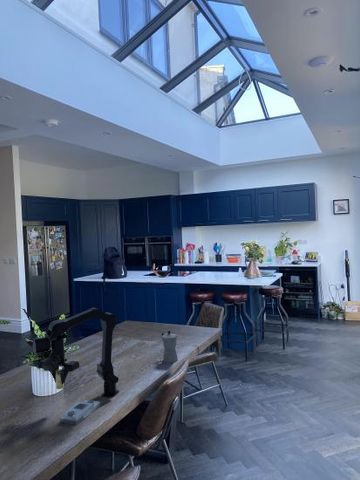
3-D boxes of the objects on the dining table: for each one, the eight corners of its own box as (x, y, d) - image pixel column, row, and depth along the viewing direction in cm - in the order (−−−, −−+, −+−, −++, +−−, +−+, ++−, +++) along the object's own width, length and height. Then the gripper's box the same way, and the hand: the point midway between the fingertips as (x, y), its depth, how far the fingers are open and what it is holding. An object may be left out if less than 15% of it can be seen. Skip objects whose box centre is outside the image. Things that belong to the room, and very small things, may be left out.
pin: (59, 385, 172) (58, 368, 172) (65, 386, 171) (64, 369, 171) (54, 388, 169) (53, 371, 169) (60, 389, 168) (59, 371, 168)
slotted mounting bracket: (85, 403, 175) (85, 395, 175) (100, 405, 172) (100, 397, 172) (60, 421, 158) (60, 413, 158) (76, 424, 155) (75, 416, 155)
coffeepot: (182, 361, 225) (181, 331, 225) (169, 365, 220) (168, 334, 220) (169, 354, 238) (168, 326, 238) (156, 358, 233) (155, 329, 233)
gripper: (28, 353, 166) (30, 388, 166) (63, 356, 159) (65, 393, 159) (46, 345, 176) (48, 378, 176) (79, 348, 169) (81, 382, 170)
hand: (59, 383), depth 170 cm, fingers closed on pin, 3 cm apart
